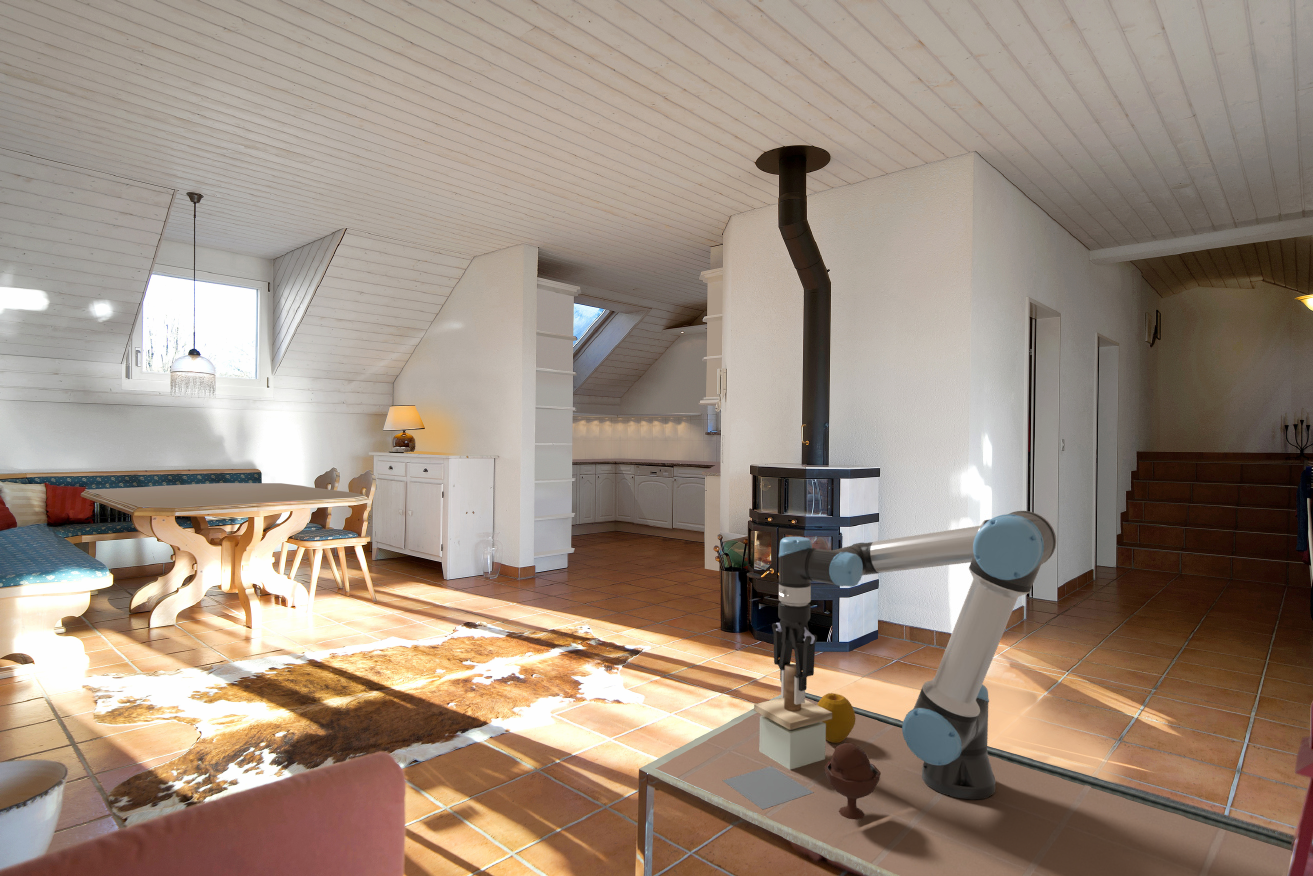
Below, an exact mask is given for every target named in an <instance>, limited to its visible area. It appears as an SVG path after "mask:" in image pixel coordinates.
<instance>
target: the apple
mask: <svg viewBox="0 0 1313 876" xmlns="http://www.w3.org/2000/svg"><path fill="white" fill-rule="evenodd" d="M816 705H818V706H820V707H822V708H824V709H826V710H828V711H830V712H832V719H829V720H825V721H822V722H823V723H825V724H826V741H828V742H829V743H832V744H840V743H842V742H843V741H845V740H846V739H847V737H848V736H849V735H850V733H851V732H852V730H853V729H854V726H855V725H856V714H855V713H856V712H855V710H854V708H853V705H852V704H851V702H850V700H848V698H847V697H845V696H843V695H841V694H839V693H833V692H830V693H829V692H828V693H826V694H824V695H823V696H822V697H821V698H820V699H819V701H818V702H817V704H816Z"/></svg>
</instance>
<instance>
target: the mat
mask: <svg viewBox="0 0 1313 876" xmlns="http://www.w3.org/2000/svg"><path fill="white" fill-rule="evenodd" d="M722 781H723V783H725V784H726V785H727V786H729V787H731V788H732V789H733V790H735V791H736V792H738V793H739V794H740V795H742V796H743V797H745V799H748V800H749V801H750V802H751V803H753V804H754V805H755V806H757V807H759V808H760V809H761V810H766V809H768V808H771V807H774V806H777V805H781V804H784V803H787V802H790V801H792V800H796V799H799V798H802V797H805V796H808V795H811V794H814V793H815V792H814V791H812V790H811V789H810V788H807V787H806V786H804V785H802V784H801V783H800V782H798V781H796V780H795V779H793V778H792V777H790V776H788V775H787V774H785V773H783V772H782V771H780V770H778V769H777V768H775V767H774V766H773V765H770V766H766V767H764V768H760V769H756V770H752V771H749V772H747V773H743V774H740V775H737V776H733V777H730V778H726V779H724V780H722Z"/></svg>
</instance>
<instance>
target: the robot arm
mask: <svg viewBox="0 0 1313 876" xmlns="http://www.w3.org/2000/svg"><path fill="white" fill-rule="evenodd" d="M1056 547H1057V534H1056V532H1055V530H1054V528H1053V526H1052V525H1051V523H1050V522H1049V521H1048V520H1047V519H1046V518H1045V517H1044V516H1042V515H1040V514H1038V513H1036V512H1033V511H1028V510H1017V511H1013V512H1010V513H1008V514H1007V513H1006V514H1001V515H997V516H994V517H992V518H990V519H986V520H983V521H982V523H981V524H980V525H976V526H971V527H970V526H969V527H962V528H955V529H949V530H942V531H941V530H940V531H937V532H929V533H923V534H915V535H911V536H910V535H909V536H903V537H896V538H890V539H889V538H888V539H883V540H875V541H869V542H856V543H853V544H851V545H849V546H848V545H847V546H844V547H841V548H838V549H833V550H830V549H829V550H828V549H820V548H819V549H818V548H815V547H813V545H812V540H811V539H810V538H808V537H804V536H803V537H802V536H786V537H783V538H782V539H780V542H779V552H778V560H779V561H778V565H779V567H778V577H779V578H778V601H779V602H778V607H777V608H778V609H777V610H778V611H777V613H778V614H777V616H778V618H779V619H780V621H779V622H776V623H775V622H774V623H772V624H771V627H772V632H773V663H774V665H777V666H778V668H779V671H780V673H779V676H780V677H779V678H780V679H779V681H780V683H781V684H780V686H781V687H780V688H781V689H780V691H781V692H780V698H784V686H785V665H787V664H791V661H792V654H793V652H794V660H795V664H796V669H797V675H795V678H794V704H796V705H797V704H801V703H805V700H806V691H807V685H808V684H807V683H808V677H811V676H814V673H815V672H814V671H815V651H816V643H817V640H818V635H816V634H812V633H811V632H810V631H809V629H810V628H809V626H808V622H809V621H810V619H811V604H810V603H811V601H812V600H811V599H812V597H811V595H812V593H811V590H812V589H811V588H812V587H811V585H812V581H813V582H818V583H824V584H829V585H830V584H831V585H836V586H839V587H855V586H857V585H859V582H860V581H861V579H862V576H863V577H864V576H869V575H878V574H883V573H891V572H899V571H900V572H901V571H907V570H916V569H917V570H918V569H926V568H934V567H935V568H936V567H943V566H952V565H959V564H968V563H970V565H969V566H968V570H969V571H970V574H971V576H972V578H973V579H972V582H971V584H970V586H969V589H968V592H967V594H966V597H965V599H964V601H963V604H962V607H961V610H960V612H959V615H958V617H957V620H956V622H955V624H954V628H953V630H952V633H951V635H950V638H949V641H948V643H947V644H946V645H947V646H946V648H945V650H944V652H943V656H942V658H941V659H940V662H939V665H938V668H937V670H936V674H935V676H934V677H933V679H931V680H929V681H926V682H923V684H922V687H921V689H920V692H919V694H918V697H917V699H916V702H915V705H914V707H913V708H912V709H911V710H909V711H908V712H907V714H906V715H905V716H904V719H903V722H902V727H901V732H902V737H903V739H904V741H905V743H906V745H907V747H908V749H909V750H910V751H911V752H912V754H913V755H914V756H916V757H917V759H919V760H921V761H922V762H923V763H922V768H921V769H922V770H921V771H922V772H921V778H922V780H923V782H924V783H925V784H926V786H928V787H929V788H931V789H932V790H935V791H936V792H938V793H940V794H943V795H945V794H946V796H948V795H950V796H949V797H953V798H957V799H962V800H963V799H964V800H983V799H987V798H990V797H991V796H990V795H991V794H993V793H994V794H995V792H996V777H995V774H994V773H993V769H992V764H991V762H990V758H989V754H988V739H989V738H988V737H989V735H988V732H989V703H990V698H989V690H988V688H987V687H986V686H985V685H984V684H983V683H984V680H985V678H986V676H987V674H988V671H989V668H990V667H991V664H992V661H993V659H994V656H995V654H996V652H997V649H998V647H999V644H1000V641H1001V640H1002V637H1003V635H1004V632H1005V630H1006V629H1007V628H1006V627H1007V624H1008V622H1009V620H1010V617H1011V615H1012V613H1013V611H1014V607H1015V605H1016V604H1017V601H1018V599H1019V597H1021V596H1024V595H1027V594H1030V592H1031V589H1032V587H1033V585H1034V584H1035V580H1036V579H1037V576H1038V573H1039V572H1040V571H1039V570H1040V568H1041V566H1042V565H1043V564H1045V563H1046V562H1048V560H1050V558H1052V556H1053V554H1054V552H1055V549H1056ZM994 791H995V792H994ZM994 794H993V795H994ZM989 796H990V797H989ZM986 797H987V798H986Z"/></svg>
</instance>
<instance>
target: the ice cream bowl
mask: <svg viewBox="0 0 1313 876" xmlns="http://www.w3.org/2000/svg"><path fill="white" fill-rule="evenodd" d="M868 756H869V755H867V753H865V751H863V750H862V749H861V748H860V747H858V746H857V745H856V744H855V743H852V742H849V743H848V742H844V743H842V744H841V743H840V744H839V745H837V746H836V747H835V748H834V751H833V753H832V755H831V759H829V760H828V761H827V762H826V764H825V765H824V767H823V768H824V772H825V773H824V774H825V776H826V778H827V780H828V782H829V784H830V785H831V786H832V788H833V789H834V790H835V791H836V793H838V794H840V795H841V796H843V797H846V799H847V803H846V804H847V805H846V806H845V805H844V806H843V807H840V808H839V810H838V812H839V814H840V815H841V816H842V817H844V818H845V819H848V820H855V821H857V820H860V819H861V820H862V819H864V817H865V815H866V814H865V813H864V811H863V809H860V808H858V807H857V799H861V798H864V797H867V796H869V795H870V794H872V793H873V792H874V790H875V789H876V787H877V785H878V783H879V781H880V779H881V778H880V777H881V773H882V772H881V771H880V769H878V768H877V767H876V765H875V764H873V763H871V762H870V760H869V757H868Z"/></svg>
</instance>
